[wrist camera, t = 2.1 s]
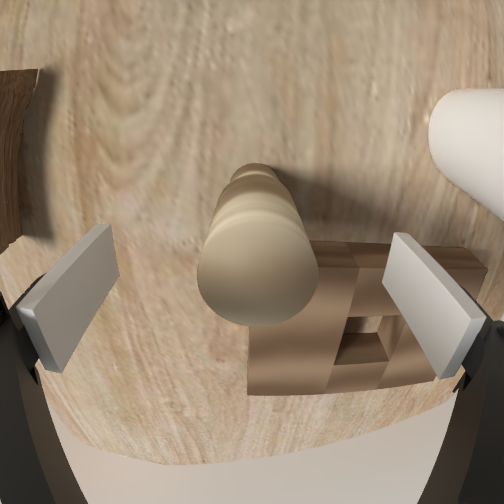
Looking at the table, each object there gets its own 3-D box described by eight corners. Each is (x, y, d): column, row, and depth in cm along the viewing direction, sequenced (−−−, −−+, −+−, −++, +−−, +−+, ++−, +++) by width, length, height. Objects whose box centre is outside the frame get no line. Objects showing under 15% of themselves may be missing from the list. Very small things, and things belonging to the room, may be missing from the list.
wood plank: (32, 237, 24) (2, 264, 19) (17, 233, 23) (-13, 258, 19) (39, 69, 17) (-1, 69, 12) (22, 70, 16) (-17, 72, 12)
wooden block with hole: (252, 238, 24) (252, 265, 20) (465, 247, 24) (488, 269, 20) (247, 364, 30) (247, 395, 27) (420, 355, 30) (433, 380, 27)
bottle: (224, 156, 21) (193, 221, 10) (287, 159, 21) (326, 226, 10) (223, 215, 23) (200, 324, 12) (283, 217, 23) (309, 327, 12)
